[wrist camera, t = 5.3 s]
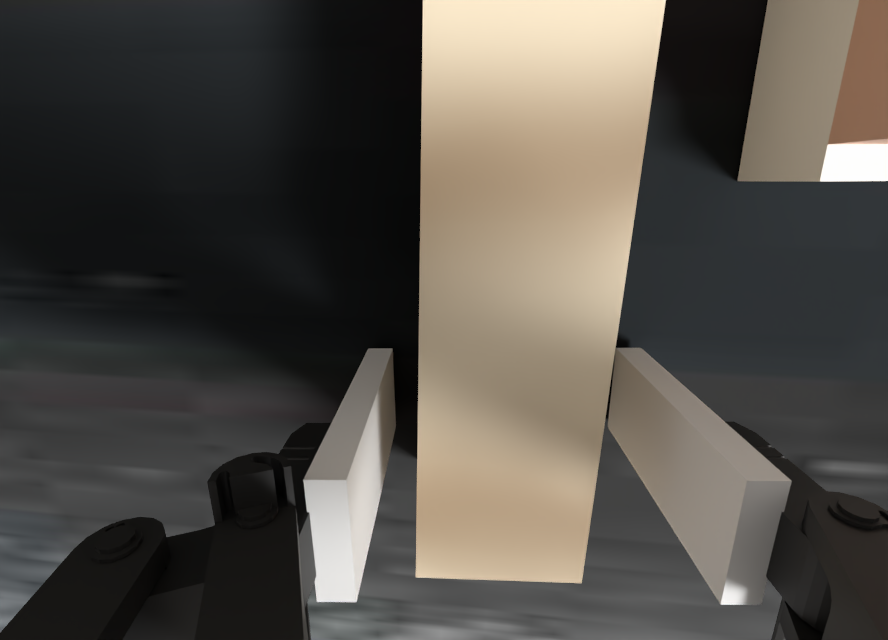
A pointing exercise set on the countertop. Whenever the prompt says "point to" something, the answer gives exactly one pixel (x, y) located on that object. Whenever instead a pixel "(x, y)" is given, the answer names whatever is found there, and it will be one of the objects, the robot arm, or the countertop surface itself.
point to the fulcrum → (820, 93)
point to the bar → (523, 271)
